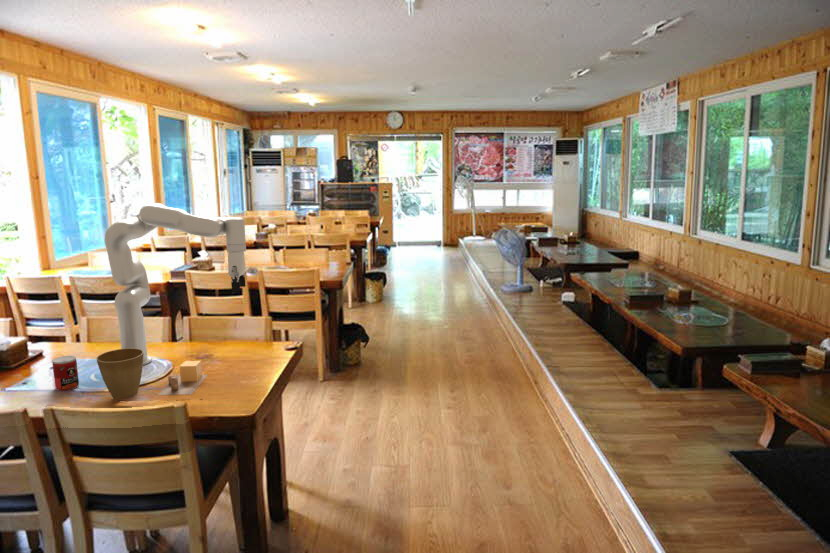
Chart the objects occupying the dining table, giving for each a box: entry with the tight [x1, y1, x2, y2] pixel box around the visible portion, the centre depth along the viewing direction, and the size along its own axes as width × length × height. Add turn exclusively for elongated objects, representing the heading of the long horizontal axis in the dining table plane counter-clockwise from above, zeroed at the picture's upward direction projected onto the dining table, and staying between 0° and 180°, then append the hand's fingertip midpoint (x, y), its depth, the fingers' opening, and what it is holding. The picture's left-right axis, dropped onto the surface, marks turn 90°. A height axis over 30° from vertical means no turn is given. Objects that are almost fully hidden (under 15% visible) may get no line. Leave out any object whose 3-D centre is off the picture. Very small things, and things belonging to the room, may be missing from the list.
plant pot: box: [95, 348, 144, 402], centre depth 209 cm, size 15×15×16 cm
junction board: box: [157, 374, 208, 396], centre depth 219 cm, size 12×20×6 cm, turn 3°
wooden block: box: [179, 360, 203, 382], centre depth 224 cm, size 6×6×6 cm
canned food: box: [51, 355, 80, 392], centre depth 220 cm, size 8×8×11 cm
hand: (238, 289), depth 244 cm, fingers open, 9 cm apart
